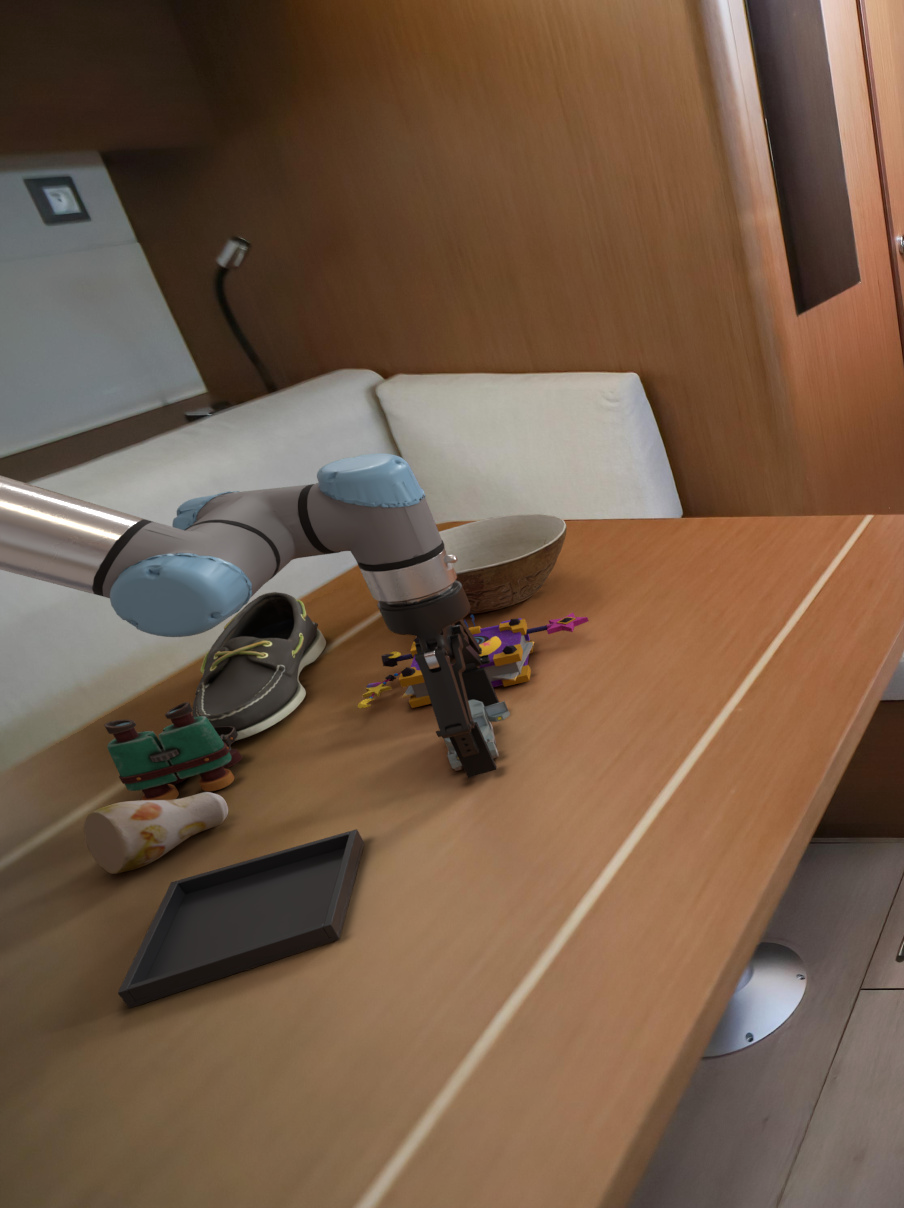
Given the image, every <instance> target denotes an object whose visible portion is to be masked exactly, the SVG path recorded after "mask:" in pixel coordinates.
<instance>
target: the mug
mask: <svg viewBox="0 0 904 1208" xmlns="http://www.w3.org/2000/svg"><path fill="white" fill-rule="evenodd" d="M228 815H229V807H228V804H227V802H226V799H224V797H222V795H220V794H218V793H213V792H211V791H203V792H200V793H197V794H193V795H189V796H185V797H181V798H176V799H174V800H143V801H142V800H127V801H121V802H119V801H118V802H115V803H112V804H108V805H105V806H102V807H100V808H98V809H96V810H94V811H92V812H90V813H89V814H88V815H87V816H86V818H85V820H84V824H83V832H84V839H85V842H86V846H87V848H88V851H89V852H90V854H91V856H92V857H93V859H94V861H95V862H96V863H97V864H98V865H99V867H101V868H102V869H103V870H105V872H107V873H108V874H111V875H112V874H120V873H125V872H129V871H134V870H137V869H139V868H143V867H145V866H147V865H150V864H151V863H153V862H155V861H156V860H158V859H160V858H161V857H163V856H165V855H166V854H167V853H169V852H170V851H171V850H173V849H174V848H176V847H177V846H179V845H181V843H184V842H185V841H186V840H188V839H189V838H191V837H193V836H195V835H197V834H199V833H202V832H204V831H206V830H210V829H212V828H215V827H218V826H220V825H222V823H224V821H225V820H226V819H227V817H228Z"/></svg>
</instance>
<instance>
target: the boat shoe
mask: <svg viewBox="0 0 904 1208" xmlns="http://www.w3.org/2000/svg"><path fill="white" fill-rule="evenodd" d="M318 627H319V624H318V623H317V622H315V621H313V620H312V619H311V618H310V616H309V615H308V614H307V610H306V607H305V604H304V602H303V601H302V600H300V599H297V598H296V597H295V596H292V595H290V594H288V593H284V592H277V591H272V592H267V593H264V594H263V593H262V594H260V595H258V596H257V597H256V598H254V599H253V600H252V601H250V602H249V603H247V604H246V605H244V606H243V607H242V608H241V609H240V610H239V611H238V612H237V613H236V615H235V614H234V615H233V617H231V619H230V620H229V621H228V622H227V623H226V624H225V625H224V626H223V630H222V632H221V633H220V634H219V636H218V637H217V638H216V640H215V641H214V643H213V644H212V645H211V647H210V649H209V651H207V652H206V654H205V655H204V656H203V659H202V663H201V667H200V669H199V671H200V672H199V673H200V674H201V675H202V677H201V679H200V681H199V683H198V684H197V686H196V690H195V696H194V699H193V702H192V710H193V711H192V712H191V713H192V716H193V718H195V717H199V716H205V717H206V718H207V719H208V720H209V721H210V723H211V724H212V726H213V727H222V726H231V727H235V729H236V731H237V733H238V736H237V738H236V739H235V741H234V742H236V741H239V740H243V739H246V738H249V737H251V736H253V735H256V734H259V733H261V732H263V731H265V730H267V729H269V728H271V727H272V726H274V725H276V724H277V723H280V722H281V721H282V720H284V719H285V718H287V717H288V716H289V715H290V714H292V712H294V711H295V710H296V709H297V708H298V707H299V706H300V705H301V703H302V702H303V701H304V699H305V698H306V695H307V690H306V688H305V687H304V686H303V685H302V684H301V682H300V680H299V678H300V677H299V676H300V674H301V672H302V670H303V669H304V668H305V667H306V666H308V665H311V664H313V663H314V662H315V661H316V660H317V659H318V658H319V657H320V655H321V654H322V652H323V651H324V650H325V648H326V646H327V641H326V638H325V637H324V635H323V633H322V632H321V630H320V629H319V628H318ZM218 735H219V737H220V736H221V735H222V734H218ZM223 735H224V736H225V737H226V736H227V735H228V734H223ZM222 739H223V738H222Z"/></svg>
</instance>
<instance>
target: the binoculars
mask: <svg viewBox="0 0 904 1208" xmlns="http://www.w3.org/2000/svg"><path fill="white" fill-rule="evenodd" d="M192 711H193V707H192V706H191V704H190V702H189V701H186V702H182V703H179V704H178V705H176V706H174V707H172V708H170V709H169V710H167V712H166V713H165V714H164V716H165V718H166V719H167V720H170V721H171V723H172V724H170V725H167V726H166V727H164V728H163V729H162V732H160V733H159V734H158V735H157V734H156V733H155V732H154V731H152V730H147V731H146V730H145V731H144V730H143V731H140V732H138V731H137V729H136V728H135V727H136V726H137V723H136V722H135V720H133V719H115V720H111V721H107V722H106V723H104V724H103V727H104V728H105V730H106V731H107V733H108V734H109V735H113V737H114V739H111V740H110V741H109V742H108V744H107V745H106V746H107V751H108V753H109V755H110V758H111V759H112V762H113V763H114V765H115V768H116V770H117V772H118V774H119V776H118V778H119V780H120V782H121V783H122V784H123V785H124V786H125V787H126V789H127V790H128V791H130V792H139V791H142V793H143V795H142V796H141V800H140V801H143V800H174V799H178V797H179V791H178V789H177V787H176V785H177V784H179V783H182V782H184V781H186V780H187V779H189V778H190V777H196V776H197V775H199V776H200V778H199V780H198V784H199V786H200V788H201V790H202V791H203V792H215V791H219V790H221V789H224V788H226V787H228V786H230V785H231V784H232V783H233V782H234V780H235V776H234V774H233V773H232V771H231V770H230V769H229V768H230V767H232V766H234V765H236V764H238V763H239V762H240V761H242V759H243V756H242V755H241V753H240V752H239V750H238V749H237V748H232V747H231V745H232V744H233V743H235V742H236V741H235V739H236V738H237V736H238V733H237V731H236V729H235V727H231V726H222V727H213V726H212V724H211V723H210V721H209V720H208V719H207V718H206V717H205V716H199V717H195V718H193V712H192ZM218 734H222V735H221V736H220V737H219V735H218ZM223 734H228V735H227V736H226V737H225V736H224V735H223ZM222 738H223V739H222Z"/></svg>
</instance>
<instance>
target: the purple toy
mask: <svg viewBox="0 0 904 1208" xmlns="http://www.w3.org/2000/svg"><path fill="white" fill-rule="evenodd" d="M470 618H471V619H470V621H471V622H472V624H473V626H471V627H469V624H468V622H467V621H466V619H464V618H463V621H464V622H465V624H466V626H467V627H468V629H469V630H470V632H471V633H472V635H473V637H474V638H475V640H476V641H477V643H478V644H479V646H480V648H482V651H481V652H482V654H480V656H483V655H488V656H489V659H490V663H489V664H485V665H481V666H479V667H480V668H481V667H485V670H486V672H487V674H488V677H489V679H490V681H491V684H492V686H493V688H497V687H500V686H501V687H502V686H503V687H504V688H505V687H509V686H514V685H517V684H523V683H526V682H530V679H531V673H532V670H531V667H530V664H528V663H529V657H530V654H534V653H533V652H534V646H535V645H534V644H535V641H533V640H532V639H531V638H530V635H531V634H535V633H540V632H545V631H546V632H547V635H551V634H554V633H558V632H559V633H560V632H563V631H565V632H569V633H574V631H575V627H578V626H581V625H583V624H585V623H588V622H590V620H589V617H588V616H576V615H575V613H574V612H571V613H569V614H568V615H566V616H564V617H562V618H554V619H549V620H548V623H547V624H546V625H541V626H535V627H530V628H528V624H527V621H526V618H522V617H519V618H518V617H517V618H510V620H509V619H508V620H505V621H500V623H499V624H498V625H497V624H496V625H493V626H488V627H484V628H483V627H482V626H480V625H477V626H476V623H475V615H474V614H470ZM416 643H419V639H418V637H417V636H415V638H414V639H413V642H412V645H411V647H410V651H409V652H410V653H407V654H402V653H401V652H400V651H391V652H389V653H385V654H382V655H380V656H381V657H380V658H381V661H382V666H383V667H388V668H394V667H396V666H398V662H403V661H408V660H411V659H412V661H411V665H410V667H407V666H406V667H405V668H403V669H402V668H401V669H402V670H401V671H400V672H398V673H397V672H395V673H393V674H388V675H387V676H386V677H384V679H385V680H382V681H381V682H372V683H368V684H367V685H366V687H365V691H366V692H365V693H363V694H361V696H362V698H363V700H361V701H359V702H358V704H357V708H358V709H368V708H369V707H371V706H372V704H369V703H371V702H373V701H375V698H373V697H374V696H376V697H380V696H381V694H382V693H383V692H387V691H390V690H393V688H392V686H391V685H388V686H387V683H389V682H390V683H391V682H393V681H395V680H396V679H397V677H398V676H399V677H398V682H399V684H400V686H401V688H406V687H407V688H406V690H405V692H404V693H403V695H402V696H401V697H402V699H405V698H408V697H409V700H408V703H409V705H410V707H411V709H414V708H418V707H423V706H426V705H432V704H431V701H430V698H429V694H428V691H427V688H426V685H425V681H424V678H423V675H422V673H421V670H420V668H419V666H418V663H417V662H416V660H415V654H417V651H416V646H415V644H416ZM463 672H464V671H463ZM385 685H386V686H385ZM367 697H368V698H367Z"/></svg>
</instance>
